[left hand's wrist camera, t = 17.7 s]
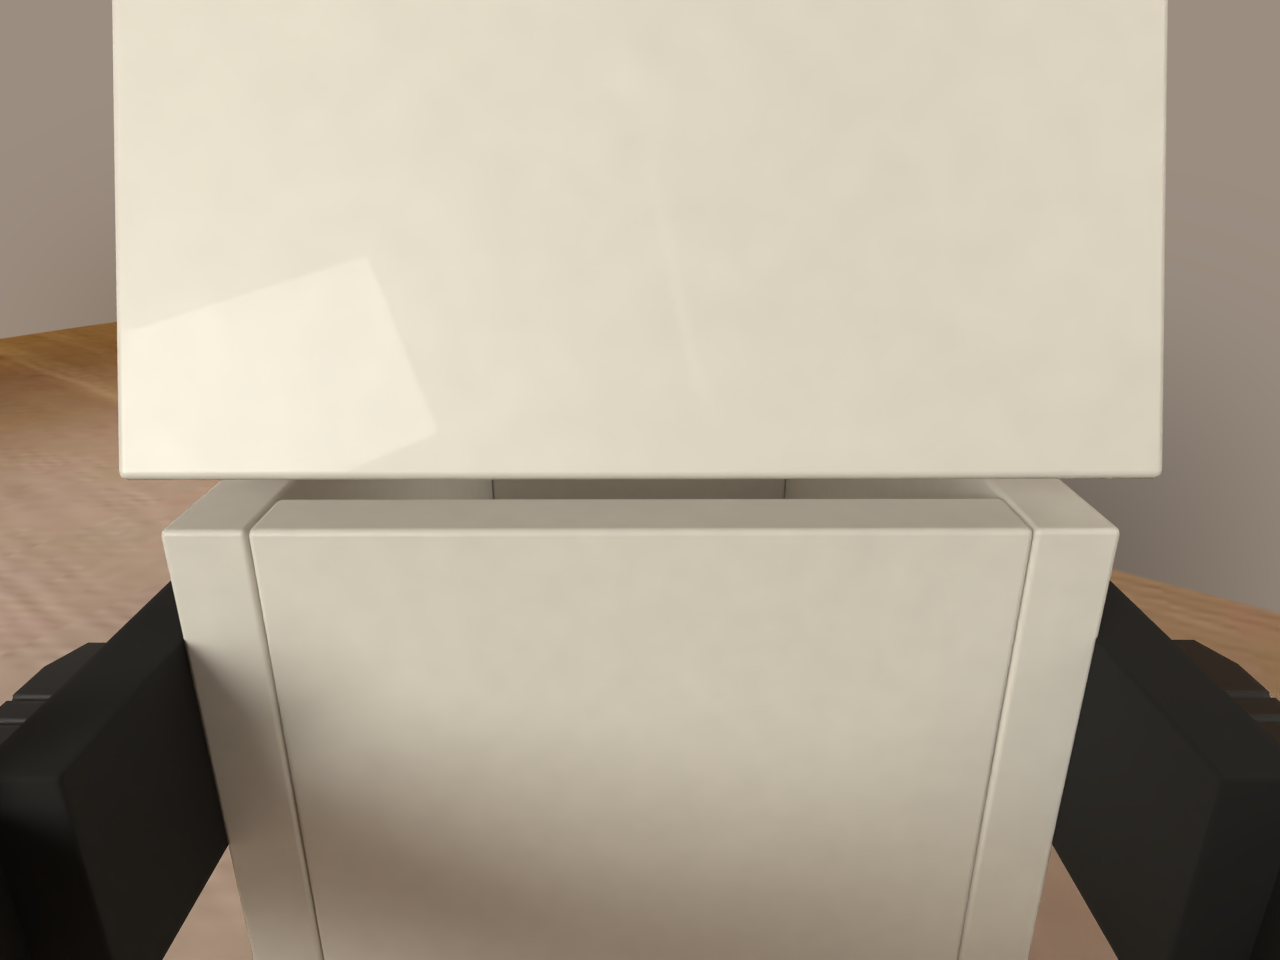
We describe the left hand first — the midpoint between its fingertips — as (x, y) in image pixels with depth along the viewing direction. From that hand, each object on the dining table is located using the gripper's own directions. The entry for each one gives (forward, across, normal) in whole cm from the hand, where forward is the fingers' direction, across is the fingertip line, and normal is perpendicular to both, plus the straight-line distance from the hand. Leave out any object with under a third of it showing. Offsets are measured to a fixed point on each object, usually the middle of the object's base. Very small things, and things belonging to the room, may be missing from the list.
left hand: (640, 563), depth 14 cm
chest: (+3, 0, -6) cm, 7 cm away
